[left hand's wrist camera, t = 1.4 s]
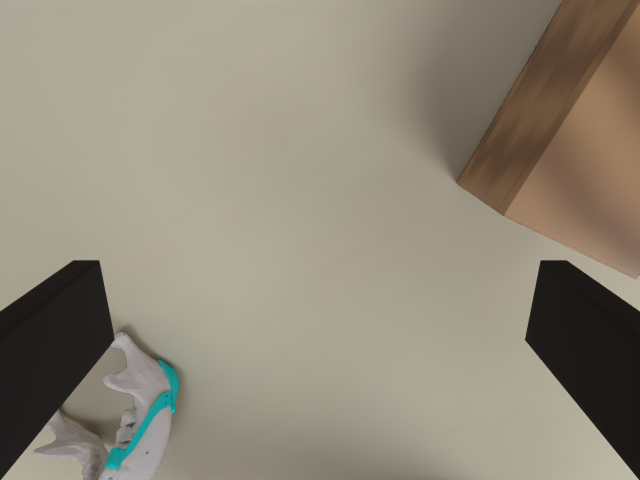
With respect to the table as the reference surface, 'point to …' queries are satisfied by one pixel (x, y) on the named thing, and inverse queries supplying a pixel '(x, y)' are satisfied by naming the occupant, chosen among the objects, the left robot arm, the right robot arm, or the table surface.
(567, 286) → the left robot arm
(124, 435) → the anatomical model
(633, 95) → the cabinet
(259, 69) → the table surface
